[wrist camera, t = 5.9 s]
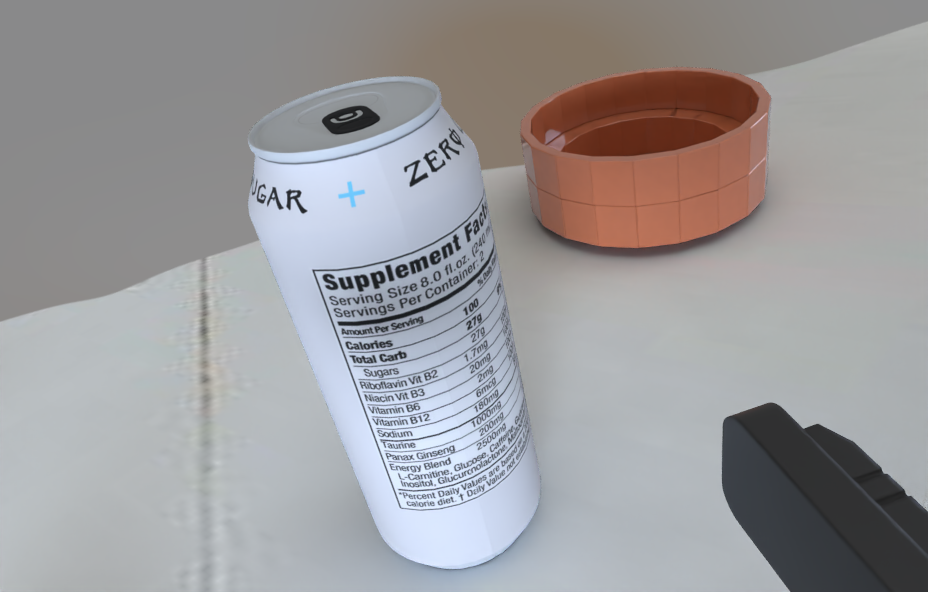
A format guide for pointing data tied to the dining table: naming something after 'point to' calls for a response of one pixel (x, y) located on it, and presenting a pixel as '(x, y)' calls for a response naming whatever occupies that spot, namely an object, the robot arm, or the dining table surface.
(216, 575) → the dining table surface
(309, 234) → the energy drink can
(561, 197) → the bowl
